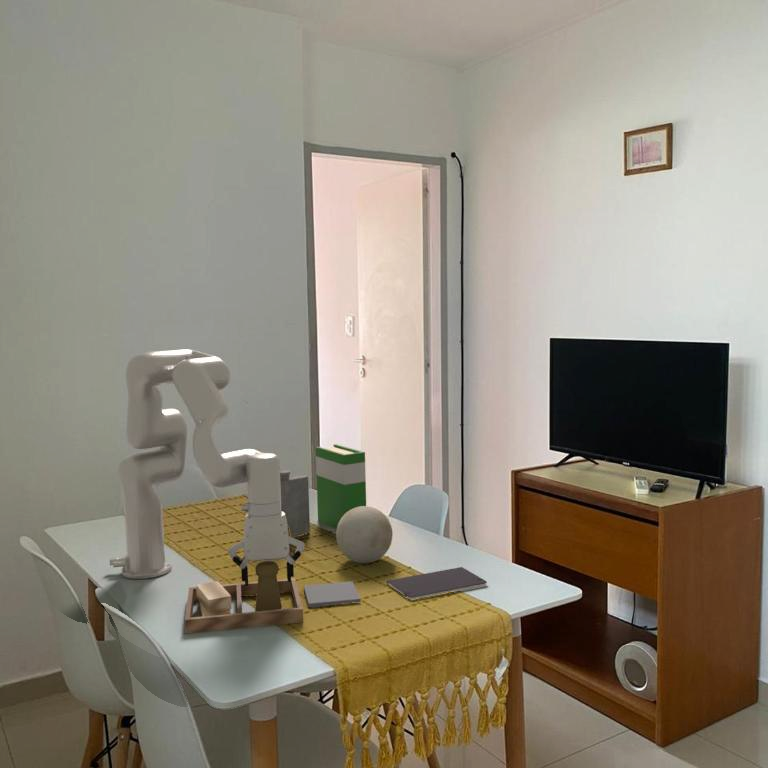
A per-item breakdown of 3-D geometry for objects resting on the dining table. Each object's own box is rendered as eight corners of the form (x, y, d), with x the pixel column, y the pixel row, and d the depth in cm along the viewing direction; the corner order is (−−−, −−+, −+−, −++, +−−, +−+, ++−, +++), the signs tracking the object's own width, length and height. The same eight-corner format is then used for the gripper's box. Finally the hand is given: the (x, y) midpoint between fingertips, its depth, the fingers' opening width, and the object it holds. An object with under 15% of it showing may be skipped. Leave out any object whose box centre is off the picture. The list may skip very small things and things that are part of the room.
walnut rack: (185, 633, 172) (184, 619, 171) (189, 599, 191) (189, 587, 191) (303, 622, 176) (302, 608, 176) (295, 590, 196) (295, 578, 196)
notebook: (462, 572, 208) (386, 586, 199) (461, 566, 207) (386, 580, 199) (488, 588, 196) (409, 603, 187) (488, 581, 196) (409, 597, 187)
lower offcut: (203, 629, 175) (202, 616, 175) (199, 606, 189) (198, 594, 188) (231, 626, 177) (231, 612, 177) (225, 603, 190) (225, 591, 190)
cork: (256, 614, 181) (254, 567, 180) (253, 605, 187) (251, 559, 186) (283, 611, 183) (281, 564, 182) (279, 602, 189) (278, 556, 187)
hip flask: (307, 530, 247) (305, 466, 245) (313, 534, 243) (310, 468, 241) (258, 539, 239) (255, 473, 237) (263, 543, 235) (260, 475, 233)
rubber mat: (308, 607, 185) (308, 603, 185) (303, 589, 196) (303, 585, 196) (360, 602, 187) (360, 598, 187) (352, 585, 199) (352, 581, 198)
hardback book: (318, 521, 258) (315, 446, 255) (338, 517, 262) (336, 444, 259) (345, 533, 243) (343, 455, 240) (366, 529, 247) (364, 452, 244)
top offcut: (209, 613, 176) (208, 600, 176) (196, 597, 186) (196, 584, 186) (231, 609, 179) (231, 596, 178) (218, 593, 188) (217, 580, 188)
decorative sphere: (328, 558, 220) (326, 504, 218) (377, 550, 226) (376, 497, 225) (351, 574, 206) (349, 517, 205) (403, 564, 213) (401, 509, 212)
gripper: (225, 515, 177) (229, 591, 179) (304, 509, 180) (307, 584, 182) (225, 507, 185) (229, 580, 186) (301, 501, 188) (304, 573, 189)
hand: (268, 581), depth 184 cm, fingers open, 9 cm apart
